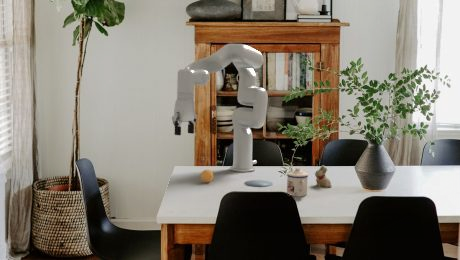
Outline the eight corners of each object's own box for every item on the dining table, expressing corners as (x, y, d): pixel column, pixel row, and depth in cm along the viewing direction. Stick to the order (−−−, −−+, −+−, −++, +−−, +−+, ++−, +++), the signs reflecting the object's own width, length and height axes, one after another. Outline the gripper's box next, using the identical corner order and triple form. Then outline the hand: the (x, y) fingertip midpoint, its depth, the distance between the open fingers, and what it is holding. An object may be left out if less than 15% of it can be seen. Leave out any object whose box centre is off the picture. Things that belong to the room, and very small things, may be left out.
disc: (255, 179, 329) (255, 178, 329) (278, 183, 321) (278, 182, 321) (238, 183, 318) (239, 183, 318) (262, 188, 311) (262, 187, 310)
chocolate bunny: (324, 183, 322) (324, 162, 320) (332, 187, 314) (333, 165, 313) (313, 184, 320) (314, 163, 318) (322, 188, 312) (323, 166, 311)
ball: (206, 180, 324) (206, 167, 324) (216, 182, 321) (216, 169, 320) (197, 182, 320) (197, 169, 319) (207, 184, 316) (207, 171, 315)
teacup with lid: (283, 192, 303) (283, 166, 301) (302, 191, 305) (303, 165, 304) (294, 199, 291) (294, 171, 290) (313, 197, 294) (314, 170, 292)
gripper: (190, 95, 322) (189, 131, 324) (166, 96, 307) (165, 135, 310) (203, 96, 318) (202, 133, 320) (180, 98, 303) (179, 136, 305)
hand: (184, 134), depth 315 cm, fingers open, 9 cm apart
